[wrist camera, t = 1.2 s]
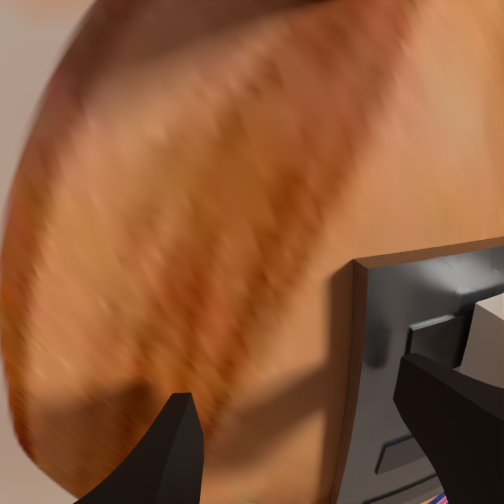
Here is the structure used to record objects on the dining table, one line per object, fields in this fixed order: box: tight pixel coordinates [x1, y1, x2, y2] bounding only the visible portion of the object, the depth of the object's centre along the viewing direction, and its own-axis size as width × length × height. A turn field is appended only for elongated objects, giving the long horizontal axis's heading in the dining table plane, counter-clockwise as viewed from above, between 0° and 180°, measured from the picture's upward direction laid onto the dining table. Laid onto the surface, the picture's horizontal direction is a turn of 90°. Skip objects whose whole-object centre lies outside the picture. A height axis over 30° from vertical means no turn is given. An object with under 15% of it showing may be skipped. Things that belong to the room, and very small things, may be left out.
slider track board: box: [329, 237, 504, 504], centre depth 13 cm, size 20×22×1 cm
